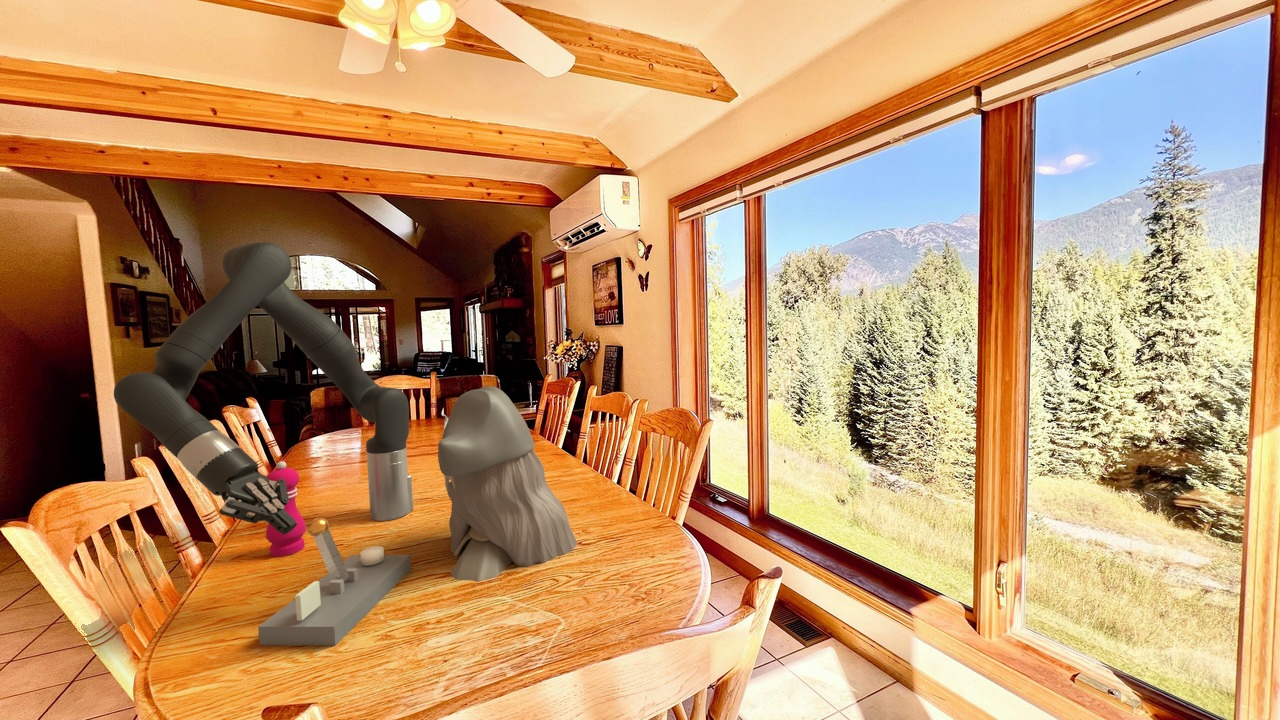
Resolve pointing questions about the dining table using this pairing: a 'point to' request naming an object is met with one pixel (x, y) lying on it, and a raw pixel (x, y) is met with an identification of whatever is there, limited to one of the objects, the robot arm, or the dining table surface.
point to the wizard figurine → (497, 489)
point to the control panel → (336, 604)
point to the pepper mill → (291, 540)
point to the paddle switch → (307, 600)
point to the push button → (372, 555)
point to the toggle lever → (328, 548)
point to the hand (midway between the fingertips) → (291, 529)
